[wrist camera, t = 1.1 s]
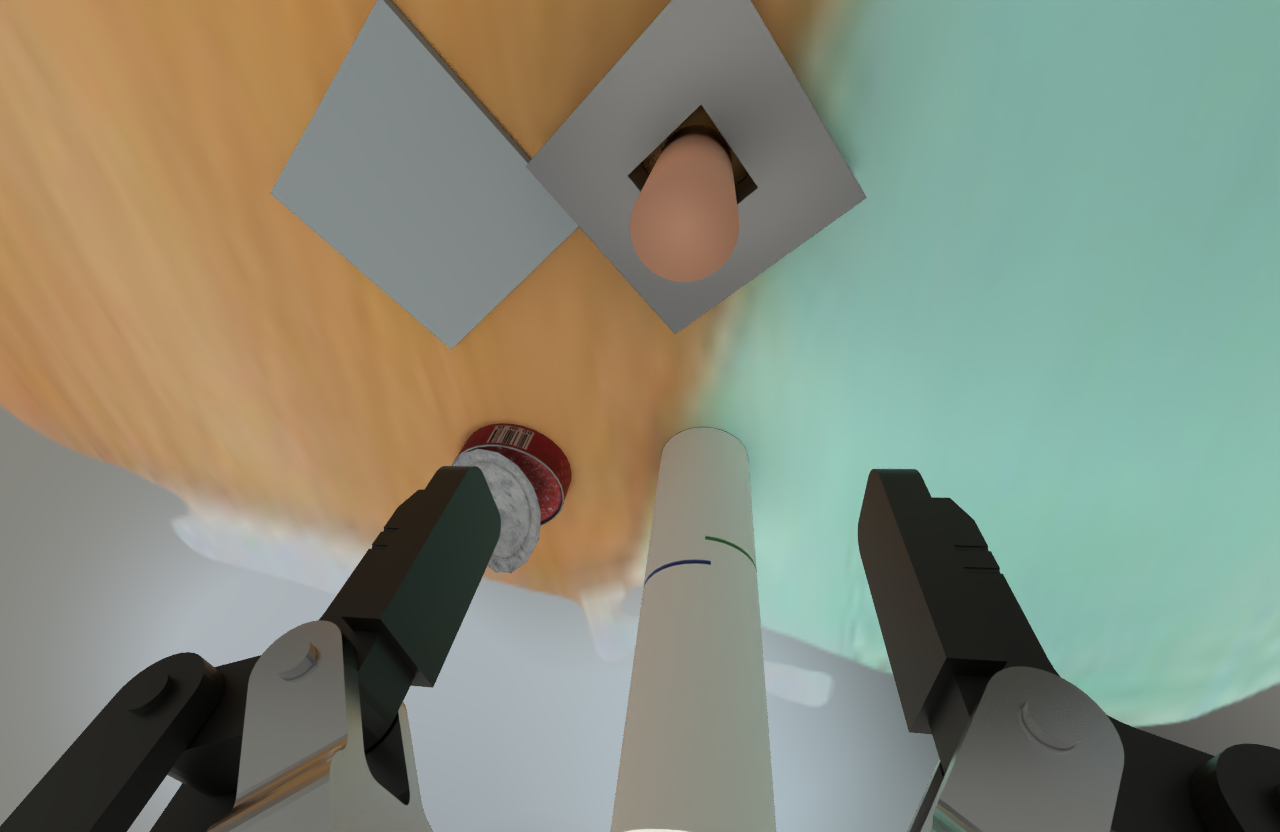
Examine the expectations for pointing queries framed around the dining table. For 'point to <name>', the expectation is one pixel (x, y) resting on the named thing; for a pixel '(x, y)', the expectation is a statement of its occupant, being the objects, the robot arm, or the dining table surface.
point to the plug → (687, 207)
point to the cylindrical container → (698, 655)
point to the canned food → (518, 485)
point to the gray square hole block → (745, 116)
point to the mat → (420, 182)
